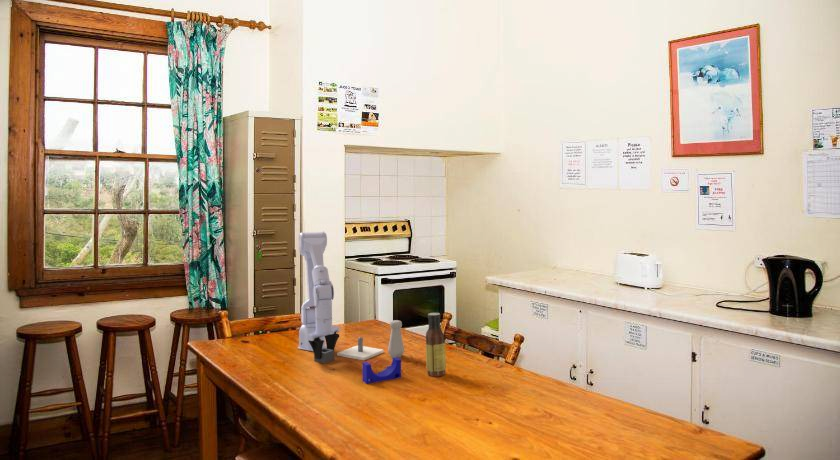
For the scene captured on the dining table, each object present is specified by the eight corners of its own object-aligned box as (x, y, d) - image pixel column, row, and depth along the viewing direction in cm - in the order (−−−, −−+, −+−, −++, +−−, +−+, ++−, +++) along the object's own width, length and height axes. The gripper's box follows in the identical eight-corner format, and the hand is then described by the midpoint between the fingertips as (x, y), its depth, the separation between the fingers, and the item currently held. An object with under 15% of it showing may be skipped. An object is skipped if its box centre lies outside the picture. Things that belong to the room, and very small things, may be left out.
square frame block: (314, 361, 199) (314, 351, 199) (323, 357, 204) (323, 347, 203) (325, 363, 197) (325, 353, 197) (334, 359, 201) (334, 350, 201)
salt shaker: (405, 354, 207) (405, 319, 207) (403, 359, 202) (403, 322, 201) (389, 354, 208) (389, 318, 207) (386, 358, 202) (386, 322, 201)
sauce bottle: (448, 372, 187) (448, 312, 186) (442, 378, 181) (442, 316, 180) (429, 370, 189) (429, 311, 188) (423, 376, 183) (422, 315, 182)
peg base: (337, 355, 206) (337, 339, 206) (357, 347, 216) (357, 332, 216) (363, 360, 200) (363, 343, 200) (383, 352, 210) (383, 336, 210)
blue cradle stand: (394, 374, 186) (394, 356, 185) (401, 378, 182) (401, 359, 181) (360, 380, 180) (360, 361, 179) (366, 384, 176) (366, 365, 175)
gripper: (318, 323, 191) (319, 363, 192) (345, 315, 203) (346, 353, 204) (302, 321, 195) (303, 360, 196) (330, 313, 207) (331, 350, 208)
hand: (324, 356), depth 200 cm, fingers open, 6 cm apart
